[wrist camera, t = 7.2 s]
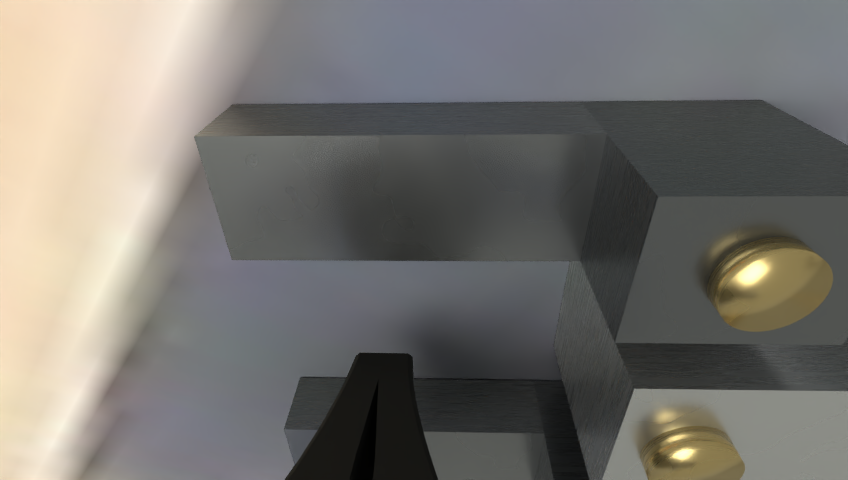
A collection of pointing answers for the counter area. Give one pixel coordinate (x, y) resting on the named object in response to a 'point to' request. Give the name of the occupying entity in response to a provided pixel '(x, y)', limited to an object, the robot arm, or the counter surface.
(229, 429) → the counter surface
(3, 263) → the counter surface
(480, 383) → the chain end
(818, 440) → the block with brass knobs
